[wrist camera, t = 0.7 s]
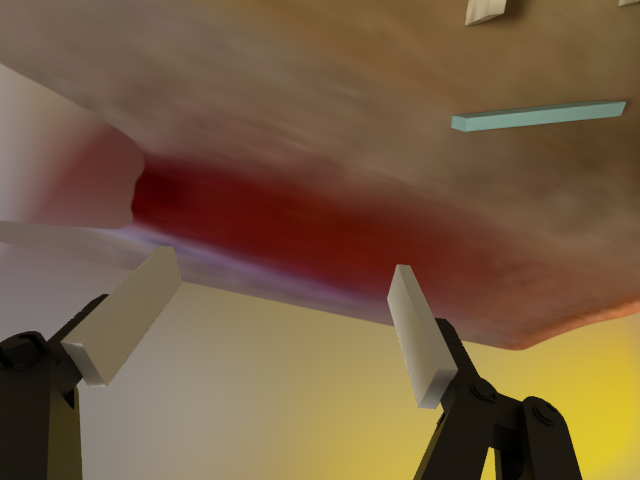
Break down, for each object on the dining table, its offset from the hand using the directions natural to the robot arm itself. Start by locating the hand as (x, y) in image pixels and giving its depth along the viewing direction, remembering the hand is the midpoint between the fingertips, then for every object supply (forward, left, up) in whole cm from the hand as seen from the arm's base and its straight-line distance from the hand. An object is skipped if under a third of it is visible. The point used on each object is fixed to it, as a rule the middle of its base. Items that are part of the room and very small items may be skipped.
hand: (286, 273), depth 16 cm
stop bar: (-4, +29, -27) cm, 39 cm away
